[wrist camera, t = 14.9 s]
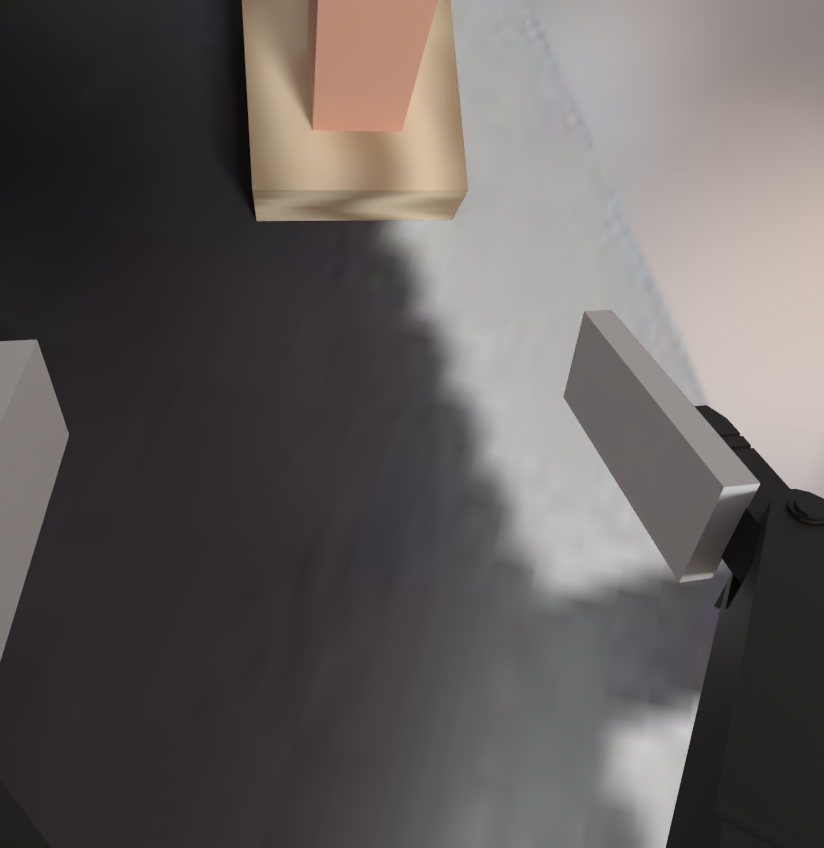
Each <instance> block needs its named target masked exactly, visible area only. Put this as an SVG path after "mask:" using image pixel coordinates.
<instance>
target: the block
mask: <svg viewBox="0 0 824 848" xmlns="http://www.w3.org/2000/svg"><path fill="white" fill-rule="evenodd" d="M437 2H438V0H308V34H307V51H308V66H309V81H310V97H311V112H312V127H313V130H317V131H374V132H402V129H403V126H404V122H405V118H406V115H407V111H408V107H409V104H410V100H411V97H412V93H413V89H414V86H415V82H416V78H417V75H418V71H419V67H420V64H421V60H422V57H423V53H424V49H425V46H426V42H427V38H428V35H429V31H430V28H431V24H432V20H433V17H434V13H435V9H436V6H437Z"/></svg>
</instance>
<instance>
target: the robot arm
mask: <svg viewBox="0 0 824 848" xmlns="http://www.w3.org/2000/svg"><path fill="white" fill-rule="evenodd" d="M564 398H565V400H566V402H567V403H568V405H569V406H570V408H571V410H572V411H573V413H574V414H575V416H576V418H577V419H578V421H579V422H580V424H581V426H582V427H583V429H584V430H585V432H586V434H587V435H588V437H589V439H590V440H591V442H592V443H593V445H594V447H595V448H596V450H597V451H598V453H599V455H600V456H601V458H602V459H603V461H604V463H605V464H606V466H607V467H608V469H609V471H610V472H611V474H612V475H613V477H614V479H615V480H616V482H617V483H618V485H619V487H620V488H621V490H622V491H623V493H624V495H625V496H626V498H627V499H628V501H629V503H630V504H631V506H632V507H633V509H634V511H635V512H636V514H637V515H638V517H639V519H640V520H641V522H642V523H643V525H644V527H645V528H646V530H647V531H648V533H649V535H650V536H651V538H652V540H653V541H654V543H655V544H656V546H657V548H658V549H659V551H660V552H661V554H662V556H663V557H664V559H665V560H666V562H667V564H668V565H669V567H670V568H671V570H672V572H673V573H674V575H675V576H676V578H677V580H678V581H679V582H686V581H694V580H701V579H708V578H712V577H713V575H714V573H715V571H716V569H717V567H718V565H719V563H720V561H721V559H723V560H724V562H725V563H726V565H727V566H728V568H729V569H730V570H731V572H732V574H731V576H730V578H729V580H728V581H727V583H726V585H725V587H724V589H723V591H722V593H721V594H720V596H719V598H718V600H717V602H716V604H715V606H714V607H717V608H719V609H720V607H721V609H720V613H719V618H718V622H717V627H716V631H715V635H714V640H713V644H712V648H711V653H710V657H709V661H708V666H707V670H706V674H705V679H704V683H703V688H702V692H701V696H700V701H699V705H698V709H697V714H696V718H695V722H694V727H693V731H692V736H691V740H690V744H689V749H688V753H687V757H686V762H685V766H684V770H683V775H682V779H681V783H680V788H679V792H678V797H677V801H676V805H675V810H674V814H673V818H672V823H671V827H670V831H669V836H668V840H667V845H666V848H824V499H823V498H821V497H819V496H817V495H815V494H812V493H810V492H806V491H802V490H798V489H790V488H789V487H788V486H787V485H786V484H785V483H784V482H783V481H782V479H781V478H780V477H779V476H778V475H777V474H776V473H775V472H774V470H773V469H772V468H771V467H770V466H769V465H768V464H767V463H766V462H765V460H764V459H763V458H762V457H761V456H760V455H759V454H758V453H757V452H756V450H754V448H751V445H750V444H749V443H748V442H747V441H746V439H745V438H744V437H743V436H740V433H739V432H738V431H737V429H736V428H735V427H734V426H733V425H732V424H731V423H730V422H729V420H728V419H727V418H725V417H724V416H722V415H721V414H719V413H718V412H716V411H715V410H713V409H711V408H710V407H708V406H707V405H704V406H694V405H693V404H692V403H691V402H690V401H689V400H688V398H687V397H686V396H685V395H684V394H683V393H682V391H681V390H680V389H679V388H678V387H677V386H676V384H675V383H674V382H673V381H672V380H671V379H670V377H669V376H668V375H667V374H666V373H665V372H664V370H663V369H662V368H661V367H660V366H659V365H658V363H657V362H656V361H655V360H654V359H653V358H652V356H651V355H650V354H649V353H648V352H647V351H646V350H645V348H644V347H643V346H642V345H641V344H640V343H639V341H638V340H637V339H636V338H635V337H634V336H633V334H632V333H631V332H630V331H629V330H628V329H627V327H626V326H625V325H624V324H623V323H622V322H621V320H620V319H619V318H618V317H617V316H616V315H615V313H614V312H613V311H612V310H601V311H584V314H583V319H582V323H581V327H580V331H579V335H578V339H577V344H576V348H575V352H574V356H573V360H572V364H571V369H570V373H569V377H568V381H567V385H566V389H565V394H564ZM68 436H69V434H68V431H67V428H66V425H65V422H64V419H63V416H62V413H61V410H60V407H59V404H58V401H57V398H56V395H55V392H54V389H53V386H52V383H51V380H50V377H49V374H48V371H47V368H46V365H45V362H44V359H43V356H42V353H41V350H40V347H39V344H38V341H37V340H19V341H0V660H1V657H2V654H3V650H4V647H5V644H6V640H7V637H8V634H9V631H10V627H11V624H12V621H13V617H14V614H15V611H16V608H17V604H18V601H19V598H20V594H21V591H22V588H23V585H24V581H25V578H26V575H27V571H28V568H29V565H30V561H31V558H32V555H33V552H34V548H35V545H36V542H37V538H38V535H39V532H40V529H41V525H42V522H43V519H44V515H45V512H46V509H47V506H48V502H49V499H50V496H51V492H52V489H53V486H54V483H55V479H56V476H57V473H58V469H59V466H60V463H61V459H62V456H63V453H64V450H65V446H66V443H67V440H68ZM0 848H51V847H50V845H49V844H48V843H47V841H46V840H45V839H44V837H43V836H42V835H41V833H40V832H39V831H38V829H37V828H36V827H35V825H34V824H33V823H32V821H31V820H30V819H29V818H28V816H27V815H26V814H25V812H24V811H23V810H22V808H21V807H20V806H19V804H18V803H17V802H16V800H15V799H14V798H13V796H12V795H11V794H10V792H9V791H8V790H7V788H6V787H5V786H4V784H3V783H2V782H1V781H0Z"/></svg>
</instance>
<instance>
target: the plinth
mask: <svg viewBox="0 0 824 848" xmlns="http://www.w3.org/2000/svg"><path fill="white" fill-rule="evenodd" d="M242 10H243V28H244V46H245V65H246V83H247V101H248V120H249V138H250V156H251V175H252V191H253V198H254V205H255V212H256V220H257V221H346V220H453V218H454V216H455V214H456V212H457V210H458V208H459V206H460V204H461V203H462V201H463V199H464V197H465V195H466V193H467V191H468V185H467V174H466V163H465V152H464V142H463V131H462V120H461V109H460V99H459V88H458V77H457V66H456V56H455V45H454V34H453V23H452V13H451V2H450V0H438V2H437V6H436V9H435V13H434V17H433V20H432V24H431V28H430V31H429V35H428V38H427V42H426V46H425V49H424V53H423V57H422V60H421V64H420V67H419V71H418V75H417V78H416V82H415V86H414V89H413V93H412V97H411V100H410V104H409V107H408V111H407V115H406V118H405V122H404V126H403V129H402V132H374V131H317V130H313V127H312V112H311V97H310V81H309V66H308V51H307V34H308V0H242Z"/></svg>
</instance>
